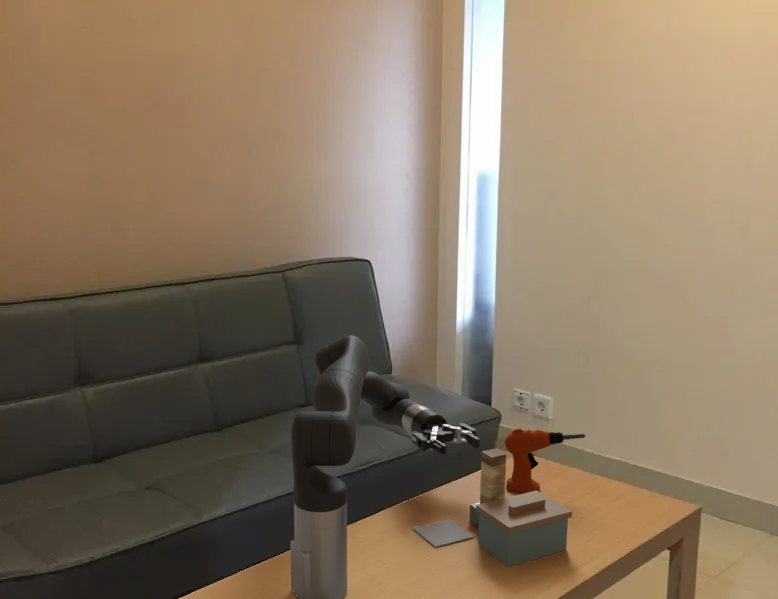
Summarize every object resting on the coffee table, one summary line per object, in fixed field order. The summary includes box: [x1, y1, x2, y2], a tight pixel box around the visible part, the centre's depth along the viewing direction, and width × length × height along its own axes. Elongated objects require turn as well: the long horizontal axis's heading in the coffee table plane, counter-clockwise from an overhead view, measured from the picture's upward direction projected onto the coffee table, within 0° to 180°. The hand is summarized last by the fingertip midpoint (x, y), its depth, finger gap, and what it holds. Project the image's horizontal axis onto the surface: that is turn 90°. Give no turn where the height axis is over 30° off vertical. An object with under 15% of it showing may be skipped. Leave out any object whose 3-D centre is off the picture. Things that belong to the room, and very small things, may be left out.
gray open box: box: [468, 501, 480, 530], centre depth 173 cm, size 7×7×4 cm
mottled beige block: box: [479, 448, 507, 504], centre depth 172 cm, size 4×4×16 cm
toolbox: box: [476, 491, 573, 567], centre depth 163 cm, size 15×11×10 cm
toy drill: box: [504, 428, 586, 494], centre depth 190 cm, size 5×19×15 cm, turn 85°
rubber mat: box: [412, 518, 474, 549], centre depth 170 cm, size 9×9×1 cm
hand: (461, 447), depth 181 cm, fingers open, 8 cm apart
